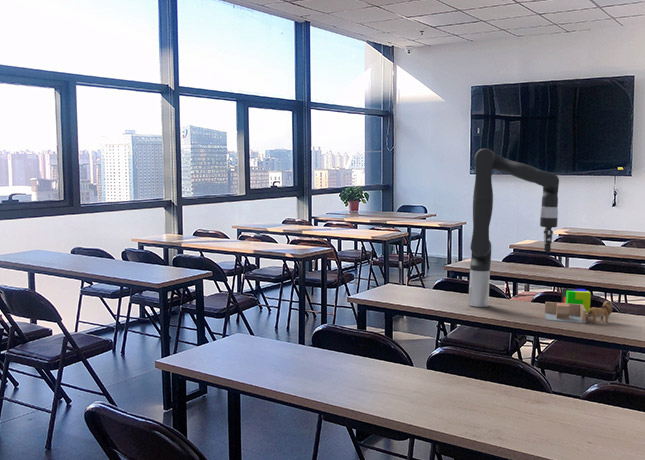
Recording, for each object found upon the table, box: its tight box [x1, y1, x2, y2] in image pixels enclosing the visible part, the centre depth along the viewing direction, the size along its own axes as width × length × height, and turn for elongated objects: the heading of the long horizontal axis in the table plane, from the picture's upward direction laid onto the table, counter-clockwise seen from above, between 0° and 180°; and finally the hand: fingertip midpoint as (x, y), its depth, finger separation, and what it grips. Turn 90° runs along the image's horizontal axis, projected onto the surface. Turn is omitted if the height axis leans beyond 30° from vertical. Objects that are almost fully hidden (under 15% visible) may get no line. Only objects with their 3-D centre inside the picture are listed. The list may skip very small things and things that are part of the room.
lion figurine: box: [585, 300, 614, 324], centre depth 272 cm, size 15×5×9 cm, turn 116°
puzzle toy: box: [561, 287, 592, 313], centre depth 294 cm, size 10×10×10 cm
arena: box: [544, 301, 587, 324], centre depth 278 cm, size 16×15×5 cm
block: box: [556, 302, 570, 320], centre depth 277 cm, size 5×5×6 cm
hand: (547, 251), depth 290 cm, fingers open, 8 cm apart
